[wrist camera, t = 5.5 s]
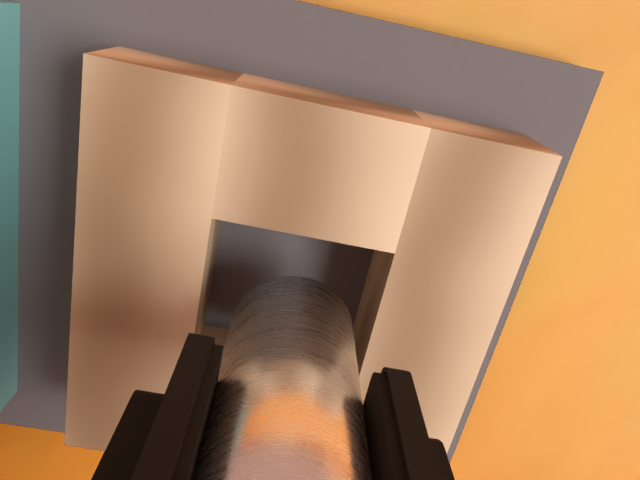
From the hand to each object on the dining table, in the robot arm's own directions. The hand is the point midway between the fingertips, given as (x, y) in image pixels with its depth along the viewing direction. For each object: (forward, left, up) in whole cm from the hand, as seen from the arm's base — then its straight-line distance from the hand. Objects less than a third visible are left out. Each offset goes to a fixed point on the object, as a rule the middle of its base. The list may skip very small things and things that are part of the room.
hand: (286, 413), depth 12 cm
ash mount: (0, 0, -6) cm, 6 cm away
